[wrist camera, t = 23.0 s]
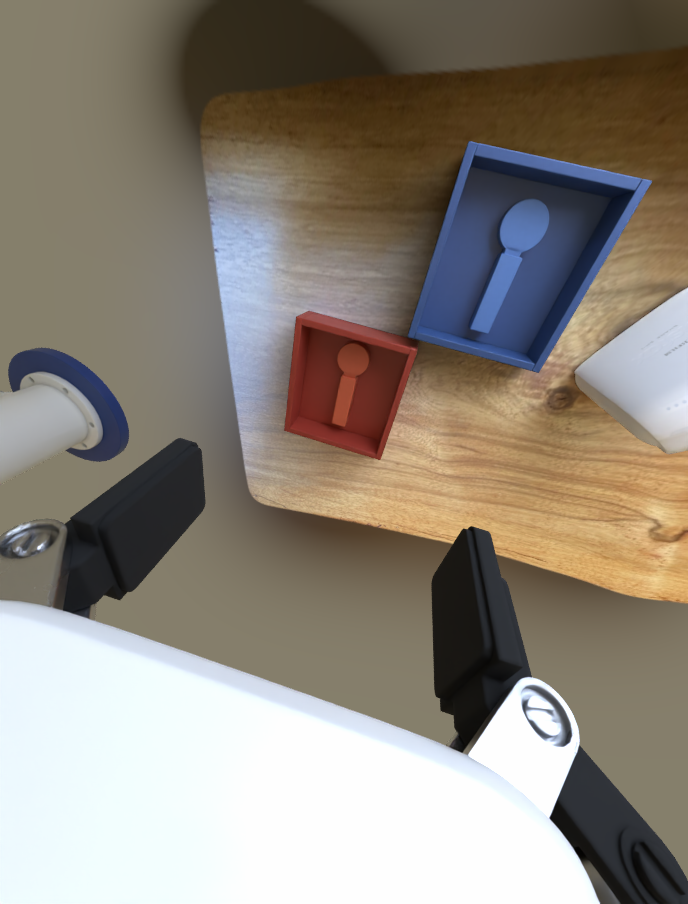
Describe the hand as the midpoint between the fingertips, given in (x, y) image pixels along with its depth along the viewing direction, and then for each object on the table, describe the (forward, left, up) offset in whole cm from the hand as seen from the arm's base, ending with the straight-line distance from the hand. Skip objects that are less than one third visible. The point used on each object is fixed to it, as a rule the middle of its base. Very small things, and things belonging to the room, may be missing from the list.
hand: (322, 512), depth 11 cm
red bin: (-3, -5, -24) cm, 25 cm away
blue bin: (+7, +8, -24) cm, 26 cm away
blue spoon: (+7, +8, -23) cm, 26 cm away
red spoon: (-3, -5, -23) cm, 24 cm away
